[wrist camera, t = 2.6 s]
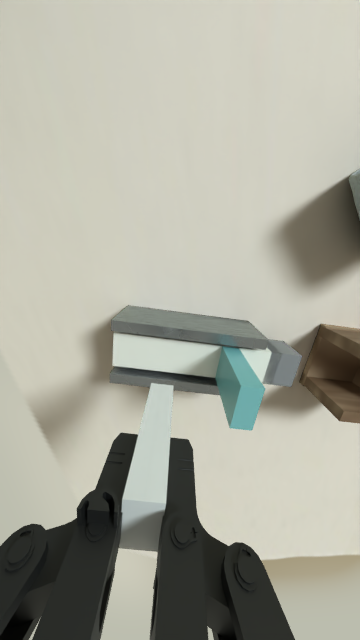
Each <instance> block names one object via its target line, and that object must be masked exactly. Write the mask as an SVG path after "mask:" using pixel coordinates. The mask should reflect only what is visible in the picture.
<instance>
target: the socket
mask: <svg viewBox="0 0 360 640" xmlns="http://www.w3.org/2000/svg"><path fill="white" fill-rule="evenodd" d="M300 383H301V384H302V385H303V386H306V387H307V388H308V389H309V391H310V392H311V393H312V394H313V395H314V396H315V397H316V398H317V399H318V400H319V401H320V402H321V403H322V404H323V405H324V406H325V407H326V408H327V409H328V410H329V411H330V412H331V413H332V414H333V415H334V416H335V417H336V418H337V419H338V420H339V421H343V422H352V423H360V329H356V328H349V327H341V326H334V325H326V324H321V326H320V328H319V331H318V334H317V336H316V339H315V342H314V344H313V347H312V350H311V352H310V355H309V358H308V360H307V363H306V366H305V368H304V371H303V374H302V376H301V379H300Z"/></svg>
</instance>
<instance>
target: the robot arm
mask: <svg viewBox="0 0 360 640" xmlns="http://www.w3.org/2000/svg"><path fill="white" fill-rule="evenodd" d="M173 387H174V386H173V385H164V384H156V383H151V386H150V390H149V394H148V398H147V402H146V406H145V410H144V414H143V418H142V422H141V426H140V430H139V434H138V435H137V434H128V433H120V434H119V435H118V437H117V438H116V439H115V440H114V441H113V444H112V446H111V449H110V452H109V454H108V457H107V460H106V463H105V465H104V467H103V470H102V473H101V475H100V478H99V481H98V483H97V486H96V489H95V490H93V491H91V492H89V493H88V494H87V495H86V496H85V497H84V498H83V499H82V501H81V502H80V504H79V506H78V507H77V518H76V519H75V520H73V521H72V522H69V523H67V524H65V525H61V526H59V527H55V528H52V529H49V530H45V529H44V528H43V527H42V526H41V525H38V524H30V525H27V526H24V527H22V528H20V529H19V530H17V531H16V532H14V533H13V534H12V535H11V536H10V537H9V538H8V539H7V540H6V541H5V542H4V543H3V544H2V545H1V546H0V640H29V638H30V636H31V634H32V632H33V631H34V629H35V627H36V625H37V623H38V621H39V619H40V618H41V619H40V621H39V624H38V627H37V629H36V632H35V634H34V637H33V639H32V640H100V638H101V633H102V629H103V623H104V619H105V615H106V610H107V605H108V600H109V596H110V591H111V587H112V582H113V577H114V571H115V562H116V557H117V553H118V548H124V549H134V550H145V551H156V552H158V556H157V568H156V575H155V580H154V587H153V589H154V595H153V607H152V619H151V630H150V640H208V630H207V626H208V627H209V628H211V629H212V632H213V637H214V640H295V639H294V636H293V634H292V632H291V629H290V627H289V624H288V622H287V620H286V617H285V615H284V613H283V610H282V608H281V605H280V603H279V601H278V598H277V596H276V593H275V592H274V589H273V586H272V584H271V582H270V579H269V577H268V575H267V572H266V570H265V568H264V565H263V563H262V562H261V560H260V558H259V556H258V555H257V554H256V553H255V552H254V550H253V549H252V548H251V547H249V546H248V545H246V544H244V543H237V542H235V543H233V544H232V545H230V546H227V545H226V544H224V543H222V542H220V541H219V540H217V539H215V538H213V537H212V536H211V535H209V534H208V533H207V532H206V531H205V529H204V528H203V527H202V525H201V523H200V521H199V518H198V515H197V509H196V495H195V478H194V462H193V449H192V446H191V444H190V442H189V440H187V439H178V438H170V435H171V419H172V403H173Z"/></svg>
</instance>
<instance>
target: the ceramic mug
mask: <svg viewBox="0 0 360 640" xmlns="http://www.w3.org/2000/svg"><path fill="white" fill-rule="evenodd" d="M349 183H350V186H351V189H352V192H353V197H354V202H355V205H356V209H357V213H358V216H359V219H360V169H359V170H357V171H356V172H354V173H353V174H352V175H351V176H350V177H349Z"/></svg>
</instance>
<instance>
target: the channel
mask: <svg viewBox="0 0 360 640" xmlns="http://www.w3.org/2000/svg"><path fill="white" fill-rule="evenodd" d="M111 331H117V332H125V333H133V334H141V335H149V336H157V337H165V338H173V339H181V340H189V341H197V342H205V343H213V344H221V345H229V346H237V347H245V348H253V349H261V350H266V348H267V345H268V341H269V340H268V339H267V338H266V337H265V336H264V335H263V334H262V333H261V332H260V331H259V330H257V329H256V328H255V327H254V326H253V325H252V324H251V323H250V322H249V321H244V320H236V319H229V318H221V317H213V316H206V315H198V314H190V313H182V312H175V311H167V310H159V309H152V308H144V307H136V306H129V305H128V306H127V307H126V308H124V309H123V310H122V311H121V312H120V313H119V314H118V315H117V316H115V317H114V318H113V319H112V320H111ZM110 383H117V384H126V385H135V386H143V387H150V386H151V383H156V384H164V385H173V386H174V387H173V390H178V391H187V392H195V393H204V394H213V395H220V393H219V389H218V386H217V382H216V379H215V378H212V377H204V376H195V375H187V374H179V373H170V372H162V371H153V370H145V369H136V368H128V367H119V366H114V368H113V370H112V371H111V373H110Z"/></svg>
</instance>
